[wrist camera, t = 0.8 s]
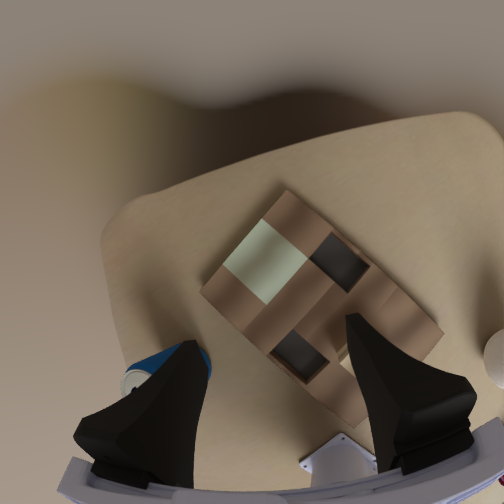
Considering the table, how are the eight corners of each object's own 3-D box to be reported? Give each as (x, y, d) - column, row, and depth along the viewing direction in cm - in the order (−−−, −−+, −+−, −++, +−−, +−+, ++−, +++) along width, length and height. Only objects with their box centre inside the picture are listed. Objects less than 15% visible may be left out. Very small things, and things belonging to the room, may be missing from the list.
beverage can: (161, 356, 36) (107, 381, 25) (193, 332, 35) (141, 353, 24) (189, 393, 35) (144, 431, 23) (223, 371, 34) (183, 409, 22)
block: (389, 347, 28) (399, 357, 24) (363, 376, 29) (368, 388, 25) (364, 323, 29) (370, 330, 25) (336, 353, 29) (339, 363, 26)
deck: (438, 330, 29) (444, 333, 27) (352, 421, 30) (353, 428, 28) (288, 194, 34) (286, 189, 32) (205, 291, 36) (198, 292, 34)
